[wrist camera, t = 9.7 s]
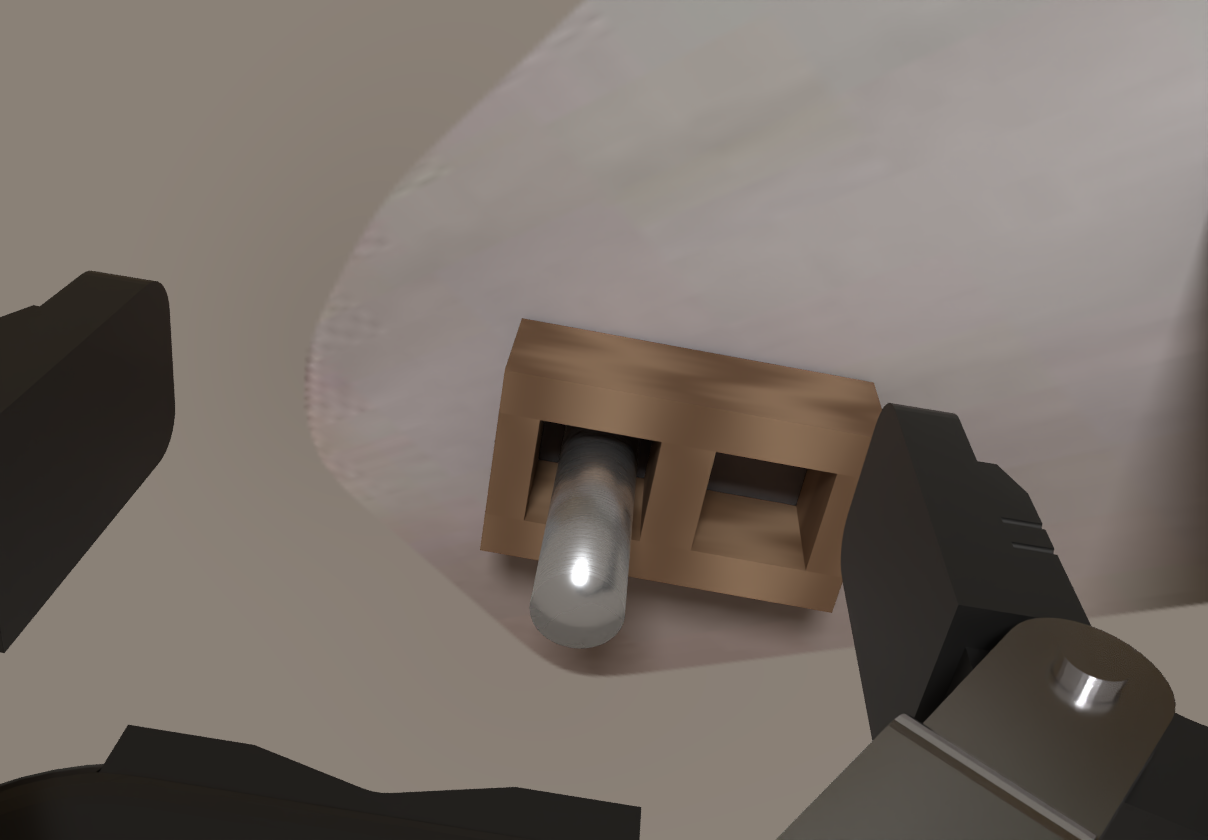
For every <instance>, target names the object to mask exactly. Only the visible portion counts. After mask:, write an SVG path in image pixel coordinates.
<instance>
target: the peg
mask: <svg viewBox="0 0 1208 840" xmlns="http://www.w3.org/2000/svg"><path fill="white" fill-rule="evenodd" d="M638 449H639V438H637V437H631V436H626V435H620V434H615V433H609V432H604V431H598V430H593V429H587V428H582V427H576V426H570V425H566V427H565V432H564V437H563V442H562V447H561V452H560V457H559V462H558V467H557V472H556V477H555V482H554V487H553V492H552V497H551V502H550V507H549V512H548V516H547V521H546V526H545V531H544V536H543V541H542V546H541V551H540V556H539V561H538V566H537V571H536V576H535V581H534V586H533V591H532V596H531V601H530V615H531V619H532V621H533V623H534V625H535V627H536V628H537V629H538V630H539V632H540V633H541V634H542V635H544V636H545V637H546V638H547V639H549V640H551V641H552V642H554V643H557V644H559V645H562V646H565V647H570V648H591V647H595V646H599V645H601V644H604V643H606V642H607V641H609V640H610V639H612V638H613V637H614V636H615V635H616V634H617V633H618V632H619V630H620V629H621V627H622V625H623V622H624V618H625V608H626V595H627V583H628V571H629V559H630V546H631V534H632V522H633V510H634V498H635V485H636V473H637V461H638Z"/></svg>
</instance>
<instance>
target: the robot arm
mask: <svg viewBox="0 0 1208 840" xmlns="http://www.w3.org/2000/svg"><path fill="white" fill-rule="evenodd" d="M174 418H175V397H174V380H173V361H172V345H171V326H170V309H169V301H168V296H167V293H166V290H165V288H164V287H163V285H162V284H161V283H159V282H157V281H151V280H145V279H139V278H133V277H127V276H121V275H114V274H108V273H102V272H96V271H87V272H85V273H83V274H81V275H80V276H79V277H78V278H76V279H75V280H74V281H72V282H71V283H70V284H68V285H67V286H66V287H64V288H63V289H62V290H61V291H59V292H58V293H57V294H55V295H54V296H53V297H51V298H50V299H49V300H48V301H46V302H45V303H44V304H42V305H41V306H34V305H33V306H30V307H27V308H24V309H22V310H19V311H16V312H13V313H11V314H8V315H5V316H2V317H0V652H2V653H5V652H6V650H7V649H8V648H9V646H10V645H11V644H12V643H13V642H14V641H15V639H16V638H17V637H18V636H19V634H20V633H21V632H22V631H23V629H24V628H25V627H26V626H27V624H28V623H29V622H30V621H31V619H32V618H33V617H34V616H35V615H36V614H37V612H38V611H39V610H40V609H41V607H42V606H43V605H44V604H45V602H46V601H47V600H48V599H49V598H50V596H51V595H52V594H53V593H54V591H55V590H56V589H57V587H58V586H59V585H60V584H61V583H62V581H63V580H64V579H65V578H66V577H67V575H68V574H69V573H70V572H71V570H72V569H73V568H74V567H75V566H76V564H77V563H78V562H79V561H80V559H81V558H82V557H83V556H84V554H85V553H86V552H87V551H88V550H89V548H90V547H91V545H93V543H94V542H95V541H96V540H97V538H98V537H99V536H100V535H101V534H102V532H103V531H104V530H105V529H106V527H107V526H108V525H109V524H110V522H111V521H112V520H113V519H114V518H115V516H116V515H117V514H118V513H119V511H120V510H121V509H122V508H123V507H124V505H125V504H126V503H127V502H128V500H129V499H130V498H131V497H132V495H133V494H134V493H135V492H136V490H137V489H138V488H139V487H140V486H141V484H142V483H143V482H144V481H145V479H146V478H147V477H148V476H149V475H150V473H151V472H152V471H153V470H154V468H155V467H156V466H157V465H158V463H159V462H160V461H161V459H162V458H163V456H164V454H165V452H166V450H167V447H168V445H169V442H170V439H171V435H172V431H173V425H174ZM1053 551H1054V547H1053V545H1052V543H1051V541H1050V539H1049V537H1048V534H1047V532H1046V530H1044V529H1042V522H1041V520H1040V518H1039V516H1038V514H1037V511H1036V509H1035V507H1034V505H1033V503H1032V501H1031V499H1030V497H1029V495H1028V493H1027V492H1026V491H1025V490H1024V489H1022V488H1021V487H1020V486H1019V485H1018V484H1017V483H1016V482H1015V481H1014V480H1013V479H1012V478H1011V477H1010V476H1009V475H1007V474H1006V473H1005V472H1004V471H1003V470H1002V469H1001V468H1000V467H999V466H998V465H997V464H991V463H985V462H979V461H977V460H976V457H975V455H974V453H973V450H972V448H971V446H970V443H969V441H968V439H967V436H966V434H965V432H964V429H963V427H962V424H961V422H960V420H959V418H958V416H957V415H956V414H953V413H948V412H942V411H936V410H929V409H923V408H917V407H911V406H905V405H899V404H893V403H888V404H886V405H885V406H884V408H883V409H882V411H881V413H880V415H879V417H878V420H877V422H876V425H875V428H874V432H873V435H872V438H871V441H870V445H869V448H868V451H867V454H866V457H865V461H864V464H863V467H862V470H861V474H860V477H859V480H858V483H857V486H856V490H855V493H854V496H853V499H852V503H851V506H850V509H849V512H848V515H847V519H846V523H845V527H844V532H843V538H842V546H841V575H842V580H843V586H844V591H845V596H846V602H847V607H848V613H849V618H850V623H851V629H852V634H853V639H854V645H855V650H856V655H857V660H858V666H859V671H860V677H861V682H862V688H863V693H864V698H865V703H866V709H867V714H868V719H869V725H870V730H871V736H872V742H871V743H870V744H869V745H868V746H867V747H866V748H865V749H864V750H863V751H862V752H861V753H860V754H859V755H858V756H857V757H856V758H855V760H854V761H852V762H851V763H850V764H849V766H848V767H847V768H845V770H844V771H843V772H842V773H841V774H840V775H839V776H838V777H837V778H836V779H835V780H834V781H833V782H832V783H831V784H830V785H829V786H828V787H827V788H826V789H825V790H824V791H823V792H822V793H821V794H820V795H819V796H818V797H817V798H816V799H815V800H814V801H813V802H812V803H811V804H810V805H809V806H808V807H807V808H806V809H805V810H804V811H803V812H802V813H801V814H800V815H799V816H798V818H797V819H795V820H794V821H793V822H792V823H791V824H790V826H788V828H787V829H786V830H785V831H784V832H783V833H782V834H781V835H780V836H779V837H778V838H777V839H776V840H1208V727H1207V726H1204V725H1201V724H1199V723H1197V722H1194V721H1192V720H1190V719H1187V718H1185V717H1183V716H1181V715H1179V714H1177V713H1175V699H1174V694H1173V692H1172V690H1171V687H1170V685H1169V683H1168V682H1167V680H1166V679H1165V678H1164V676H1163V675H1162V673H1161V672H1160V671H1159V670H1158V669H1157V668H1156V667H1155V666H1154V664H1153V663H1152V662H1150V661H1149V660H1148V659H1147V658H1146V657H1145V656H1143V655H1142V654H1141V653H1140V652H1138V651H1137V650H1136V649H1134V648H1133V647H1132V646H1130V645H1129V644H1127V643H1125V642H1123V641H1122V640H1120V639H1118V638H1117V637H1115V636H1113V635H1111V634H1109V633H1106V632H1105V631H1102V630H1100V629H1097V628H1095V627H1092V626H1091V625H1090V622H1089V620H1088V618H1087V616H1086V614H1085V612H1084V610H1083V608H1082V606H1081V604H1080V601H1079V599H1078V597H1077V595H1076V593H1075V591H1074V589H1073V587H1072V585H1071V583H1070V581H1069V578H1068V576H1067V574H1066V572H1065V570H1064V568H1063V566H1062V564H1061V562H1060V560H1059V558H1058V555H1054V554H1053ZM640 819H641V807H636V806H629V805H624V804H618V803H611V802H605V801H599V800H593V799H587V798H580V797H574V796H568V795H562V794H555V793H549V792H543V791H537V790H531V789H524V788H518V787H506V788H486V789H465V790H445V791H426V792H425V791H424V792H406V793H405V792H403V793H379V792H372V791H369V790H366V789H363V788H360V787H358V786H355V785H353V784H350V783H348V782H345V781H343V780H340V779H338V778H335V777H333V776H330V775H328V774H325V773H323V772H320V771H318V770H315V769H313V768H310V767H308V766H305V765H303V764H300V763H298V762H295V761H293V760H290V759H288V758H285V757H283V756H280V755H278V754H275V753H273V752H270V751H268V750H265V749H263V748H260V747H258V746H255V745H251V744H245V743H238V742H232V741H226V740H220V739H213V738H207V737H201V736H194V735H188V734H182V733H176V732H170V731H163V730H158V729H151V728H144V727H139V726H132V725H128V726H127V728H126V729H125V731H124V732H123V734H122V736H121V737H120V739H119V741H118V742H117V744H116V745H115V747H114V749H113V750H112V752H111V753H110V755H109V757H108V758H107V760H106V762H105V763H104V764H96V765H84V766H77V767H70V768H63V769H56V770H51V771H47V772H43V773H38V774H34V775H30V776H25V777H21V778H18V779H14V780H11V781H8V782H5V783H2V784H0V840H639V837H640Z"/></svg>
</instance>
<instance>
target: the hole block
mask: <svg viewBox="0 0 1208 840" xmlns="http://www.w3.org/2000/svg"><path fill="white" fill-rule="evenodd" d="M881 411H882V408H881V405H880V402H879V398H878V395H877V392H876V389H875V385H874V383H873V382H867V381H862V380H856V379H851V378H845V377H840V376H834V375H829V374H823V373H818V372H812V371H807V370H802V369H796V368H791V367H785V366H780V365H774V364H769V363H763V362H758V361H752V360H747V359H741V358H736V357H731V356H725V355H720V354H714V353H709V352H703V351H698V350H692V349H687V348H681V347H676V346H670V345H665V344H659V343H654V342H649V341H643V340H638V339H632V338H627V337H621V336H616V335H610V334H605V333H599V332H594V331H588V330H583V329H578V328H572V327H567V326H561V325H556V324H550V323H545V322H539V321H534V320H528V319H523V318H522V320H521V323H520V326H519V329H518V332H517V335H516V338H515V341H514V344H513V347H512V350H511V353H510V356H509V359H508V362H507V365H506V368H505V373H504V380H503V388H502V395H501V402H500V409H499V417H498V424H497V431H496V438H495V446H494V453H493V460H492V467H491V475H490V482H489V489H488V496H487V504H486V511H485V518H484V525H483V533H482V540H481V547H480V550H483V551H488V552H494V553H500V554H505V555H511V556H516V557H522V558H528V559H533V560H539V556H540V551H541V546H542V541H543V536H544V531H545V526H546V521H547V516H548V512H549V507H550V502H551V497H552V492H553V487H554V482H555V477H556V472H557V467H558V463H556V462H550V461H545V460H539V459H538V457H539V451H540V445H541V439H542V433H543V427H544V421H548V422H554V423H559V424H565V425H570V426H576V427H582V428H587V429H593V430H598V431H604V432H609V433H615V434H620V435H626V436H631V437H637V438H642V439H648V440H652V445H651V449H650V454H649V458H648V463H647V467H646V472H645V476H644V478H639V477H636V485H635V498H634V510H633V522H632V534H631V546H630V559H629V571H628V576H629V577H634V578H640V579H645V580H651V581H657V582H662V583H668V584H673V585H679V586H685V587H690V588H696V589H701V590H707V591H713V592H718V593H724V594H729V595H735V596H741V597H746V598H752V599H757V600H763V601H769V602H774V603H780V604H785V605H791V606H797V607H802V608H808V609H813V610H819V611H825V612H830V613H832V611H833V608H834V605H835V602H836V599H837V596H838V593H839V590H840V588H841V585H842V582H843V580H842V575H841V546H842V538H843V532H844V527H845V523H846V519H847V515H848V512H849V509H850V506H851V503H852V499H853V496H854V493H855V490H856V486H857V483H858V480H859V477H860V474H861V470H862V467H863V464H864V461H865V457H866V454H867V451H868V448H869V445H870V441H871V438H872V435H873V432H874V428H875V425H876V422H877V420H878V417H879V415H880V413H881ZM716 452H720V453H725V454H731V455H736V456H742V457H747V458H753V459H758V460H764V461H769V462H775V463H780V464H786V465H791V466H797V467H802V468H808V469H807V472H806V475H805V479H804V482H803V485H802V488H801V492H800V495H799V498H798V501H797V505H796V506H794V505H788V504H783V503H777V502H772V501H766V500H761V499H755V498H750V497H744V496H739V495H733V494H727V493H722V492H716V491H711V490H706V489H707V485H708V481H709V477H710V473H711V469H712V466H713V462H714V458H715V454H716Z"/></svg>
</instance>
